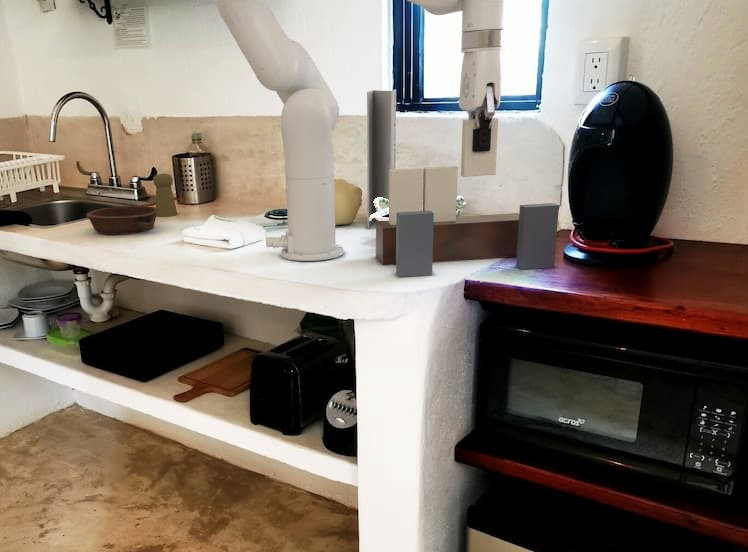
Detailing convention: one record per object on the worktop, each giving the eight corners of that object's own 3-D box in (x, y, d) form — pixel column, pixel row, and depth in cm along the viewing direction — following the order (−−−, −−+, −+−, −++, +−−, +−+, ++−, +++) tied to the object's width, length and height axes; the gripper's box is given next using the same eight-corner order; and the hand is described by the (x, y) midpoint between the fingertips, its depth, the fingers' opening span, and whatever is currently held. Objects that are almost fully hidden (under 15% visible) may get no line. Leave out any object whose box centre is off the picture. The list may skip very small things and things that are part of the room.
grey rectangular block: (520, 269, 137) (525, 207, 133) (515, 266, 139) (519, 204, 136) (554, 267, 137) (559, 205, 133) (548, 264, 140) (553, 202, 136)
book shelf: (382, 265, 145) (382, 228, 143) (375, 257, 152) (375, 221, 149) (528, 255, 146) (530, 219, 144) (515, 248, 153) (517, 212, 150)
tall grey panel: (391, 228, 178) (392, 90, 167) (367, 228, 179) (366, 92, 168) (395, 217, 191) (396, 89, 180) (372, 218, 192) (372, 90, 181)
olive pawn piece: (155, 213, 215) (151, 173, 211) (177, 212, 216) (173, 172, 212) (155, 217, 210) (150, 175, 206) (177, 215, 210) (173, 174, 206)
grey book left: (398, 277, 136) (399, 214, 132) (395, 273, 139) (396, 212, 135) (432, 275, 136) (433, 212, 132) (428, 271, 139) (430, 210, 135)
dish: (121, 241, 180) (118, 220, 178) (70, 232, 194) (67, 212, 193) (179, 229, 191) (177, 208, 189) (127, 221, 206) (125, 202, 204)
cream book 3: (463, 176, 143) (465, 120, 139) (460, 175, 145) (462, 119, 141) (495, 174, 143) (498, 118, 139) (492, 173, 145) (494, 117, 141)
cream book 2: (424, 223, 145) (425, 168, 142) (422, 221, 147) (423, 167, 144) (456, 221, 146) (457, 166, 142) (453, 219, 147) (454, 165, 144)
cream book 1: (390, 225, 145) (390, 170, 142) (388, 223, 147) (388, 169, 143) (422, 223, 145) (423, 168, 142) (419, 221, 147) (420, 167, 144)
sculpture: (369, 222, 187) (368, 176, 183) (339, 230, 179) (338, 183, 175) (331, 218, 194) (330, 174, 190) (301, 226, 186) (299, 181, 182)
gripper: (449, 45, 143) (447, 148, 149) (476, 41, 128) (471, 156, 135) (489, 43, 143) (485, 146, 150) (520, 39, 128) (513, 153, 135)
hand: (478, 150), depth 142 cm, fingers closed on cream book 3, 2 cm apart
